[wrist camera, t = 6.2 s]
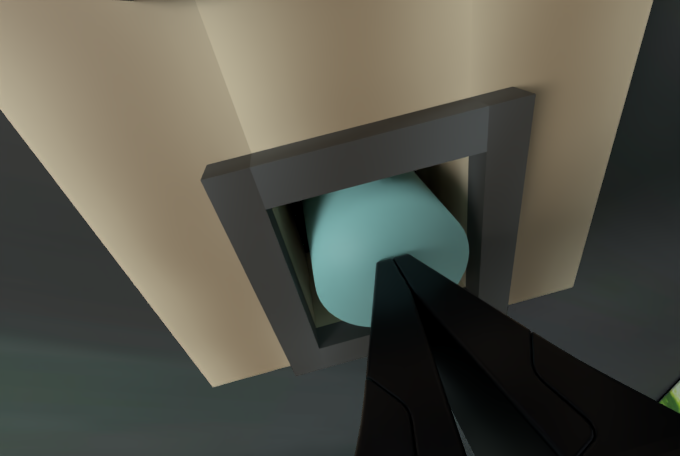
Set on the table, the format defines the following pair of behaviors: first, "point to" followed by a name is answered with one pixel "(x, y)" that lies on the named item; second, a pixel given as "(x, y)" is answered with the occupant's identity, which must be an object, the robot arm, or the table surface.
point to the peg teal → (377, 239)
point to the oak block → (315, 143)
